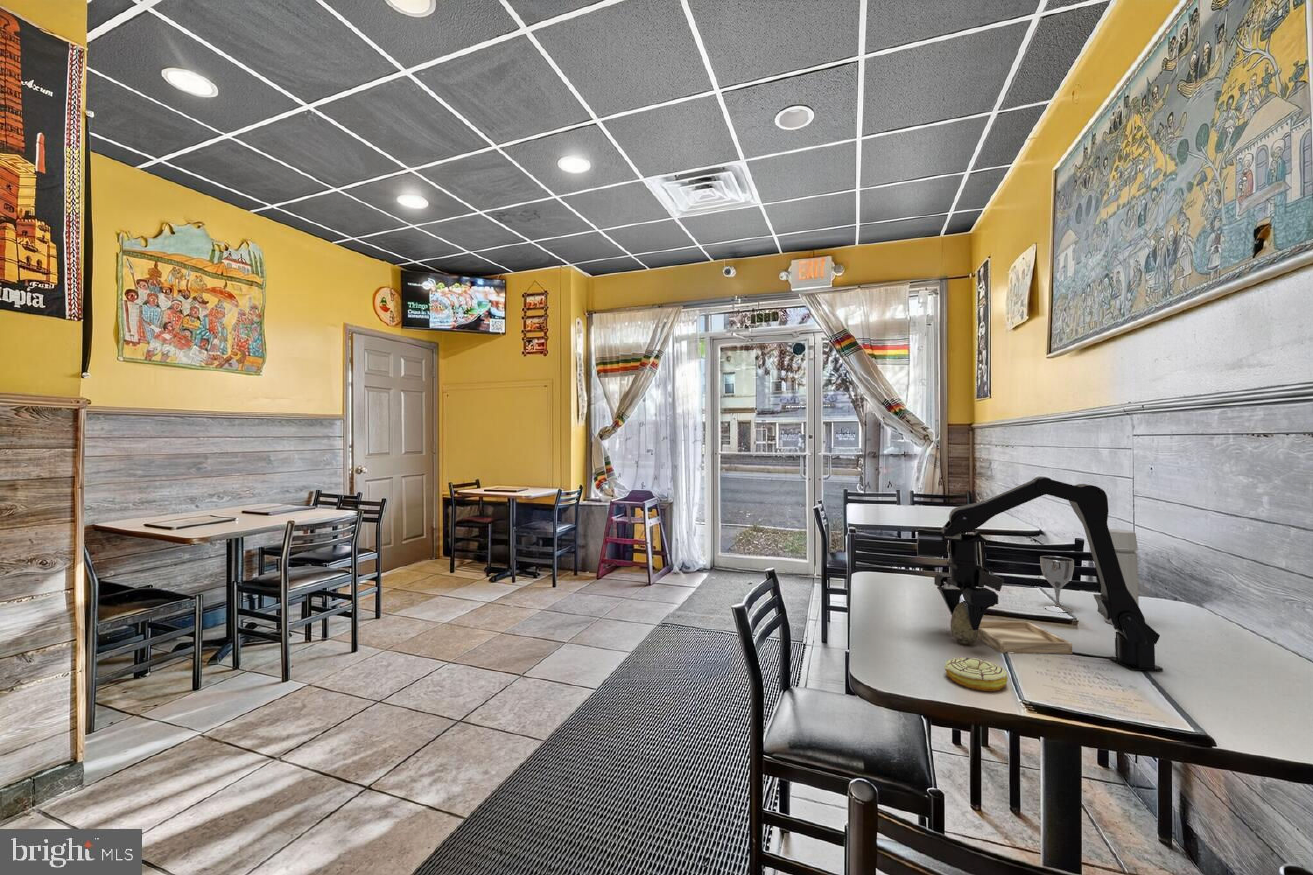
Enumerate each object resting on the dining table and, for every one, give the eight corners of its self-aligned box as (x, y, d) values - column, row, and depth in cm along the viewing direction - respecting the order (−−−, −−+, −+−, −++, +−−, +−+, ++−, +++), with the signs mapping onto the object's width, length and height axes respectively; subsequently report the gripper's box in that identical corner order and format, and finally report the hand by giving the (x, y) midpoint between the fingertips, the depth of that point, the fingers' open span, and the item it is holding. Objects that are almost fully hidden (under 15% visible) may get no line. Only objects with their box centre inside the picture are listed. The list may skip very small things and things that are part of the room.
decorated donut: (966, 668, 116) (965, 650, 116) (1018, 687, 106) (1018, 668, 106) (934, 677, 111) (934, 659, 111) (987, 698, 101) (986, 678, 101)
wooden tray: (1072, 654, 123) (1072, 643, 123) (1000, 652, 124) (1000, 642, 124) (1027, 630, 139) (1027, 621, 139) (964, 629, 140) (964, 620, 140)
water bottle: (1147, 629, 140) (1145, 533, 141) (1113, 627, 142) (1110, 532, 142) (1124, 618, 149) (1122, 528, 150) (1092, 616, 151) (1090, 527, 151)
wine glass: (1063, 605, 161) (1062, 555, 162) (1081, 613, 153) (1080, 561, 154) (1035, 605, 162) (1034, 555, 163) (1052, 613, 154) (1050, 560, 155)
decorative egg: (947, 643, 130) (946, 601, 130) (955, 637, 134) (955, 597, 134) (974, 649, 126) (973, 606, 126) (982, 643, 130) (981, 602, 130)
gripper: (1021, 567, 121) (1023, 637, 120) (976, 552, 139) (977, 612, 139) (971, 567, 121) (972, 636, 121) (932, 552, 140) (933, 612, 140)
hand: (964, 623), depth 130 cm, fingers open, 9 cm apart
